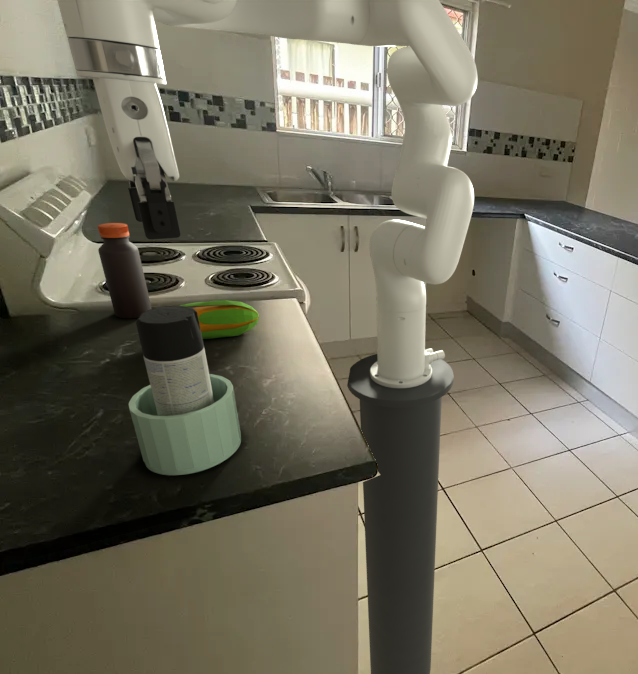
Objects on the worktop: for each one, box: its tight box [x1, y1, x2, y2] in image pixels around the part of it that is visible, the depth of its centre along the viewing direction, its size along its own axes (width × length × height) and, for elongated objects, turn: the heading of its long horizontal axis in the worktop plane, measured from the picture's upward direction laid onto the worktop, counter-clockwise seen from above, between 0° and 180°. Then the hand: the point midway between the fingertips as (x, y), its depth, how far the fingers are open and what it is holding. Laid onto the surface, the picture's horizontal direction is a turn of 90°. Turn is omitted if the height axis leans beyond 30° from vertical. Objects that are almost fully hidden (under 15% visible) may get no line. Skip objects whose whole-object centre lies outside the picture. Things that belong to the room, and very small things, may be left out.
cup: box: [127, 373, 242, 476], centre depth 66 cm, size 12×12×9 cm
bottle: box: [97, 222, 153, 319], centre depth 104 cm, size 7×7×20 cm
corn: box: [178, 299, 260, 340], centre depth 99 cm, size 7×8×20 cm
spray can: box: [135, 305, 214, 416], centre depth 64 cm, size 7×7×20 cm
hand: (157, 228), depth 57 cm, fingers open, 9 cm apart
